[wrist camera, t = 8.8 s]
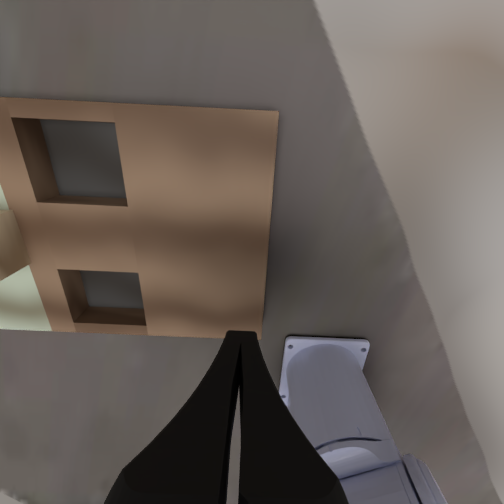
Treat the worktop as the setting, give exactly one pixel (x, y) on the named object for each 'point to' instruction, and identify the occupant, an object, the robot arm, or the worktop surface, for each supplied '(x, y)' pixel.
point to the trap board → (137, 216)
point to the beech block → (11, 245)
